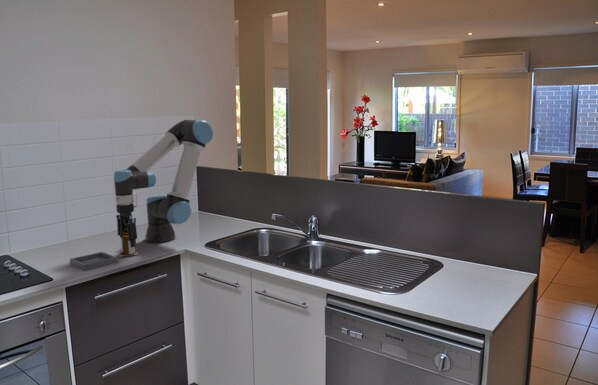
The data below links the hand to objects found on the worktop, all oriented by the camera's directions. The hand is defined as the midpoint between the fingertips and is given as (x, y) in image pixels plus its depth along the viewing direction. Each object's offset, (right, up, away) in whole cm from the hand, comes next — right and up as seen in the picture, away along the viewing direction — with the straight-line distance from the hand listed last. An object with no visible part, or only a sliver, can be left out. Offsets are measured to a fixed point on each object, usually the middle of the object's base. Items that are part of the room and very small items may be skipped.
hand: (128, 252), depth 238 cm
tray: (-11, -4, -13) cm, 17 cm away
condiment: (0, -1, +1) cm, 1 cm away
